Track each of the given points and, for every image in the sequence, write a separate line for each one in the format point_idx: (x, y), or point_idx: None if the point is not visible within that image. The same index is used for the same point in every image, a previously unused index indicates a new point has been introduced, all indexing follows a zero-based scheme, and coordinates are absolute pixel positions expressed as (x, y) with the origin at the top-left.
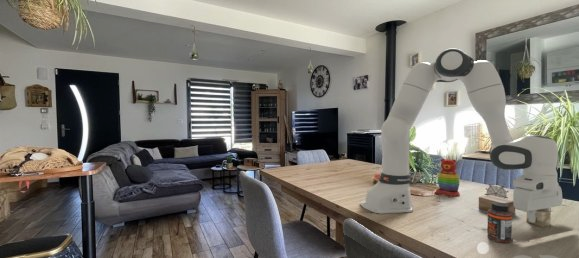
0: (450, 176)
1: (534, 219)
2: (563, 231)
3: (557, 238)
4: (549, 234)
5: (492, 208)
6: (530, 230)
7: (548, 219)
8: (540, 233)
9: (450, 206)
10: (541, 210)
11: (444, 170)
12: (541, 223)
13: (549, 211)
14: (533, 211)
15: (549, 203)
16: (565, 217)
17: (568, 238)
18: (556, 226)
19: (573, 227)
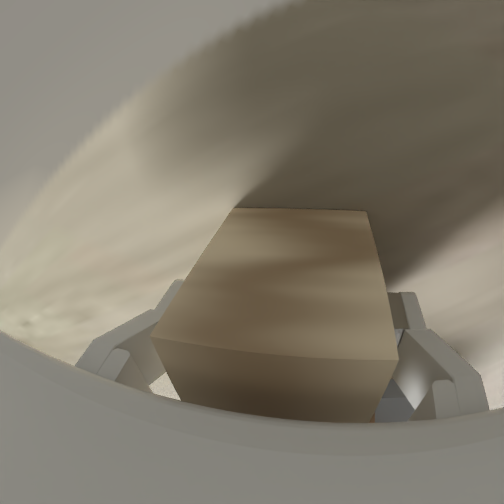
0: None
1: (421, 315)
2: (198, 124)
3: (457, 57)
4: (423, 130)
5: None
6: (458, 247)
7: (246, 259)
8: (465, 179)
9: None
10: (269, 396)
11: None
12: (376, 251)
13: (185, 339)
14: (482, 399)
15: (98, 452)
16: (15, 270)
17: (358, 8)
18: (141, 215)
19: (59, 169)
